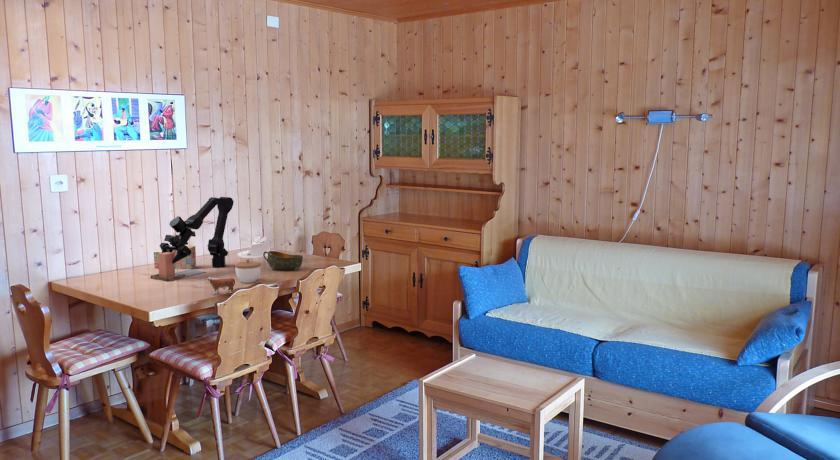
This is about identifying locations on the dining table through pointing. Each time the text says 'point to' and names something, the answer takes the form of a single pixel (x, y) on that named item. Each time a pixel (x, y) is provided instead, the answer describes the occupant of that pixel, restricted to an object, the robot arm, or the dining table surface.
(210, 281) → the bull figurine
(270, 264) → the cup
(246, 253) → the dish
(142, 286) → the dining table surface
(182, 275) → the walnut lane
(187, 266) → the stack of blocks
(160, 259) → the salmon-pink block
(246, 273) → the lidded bowl
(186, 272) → the slate-grey mat
